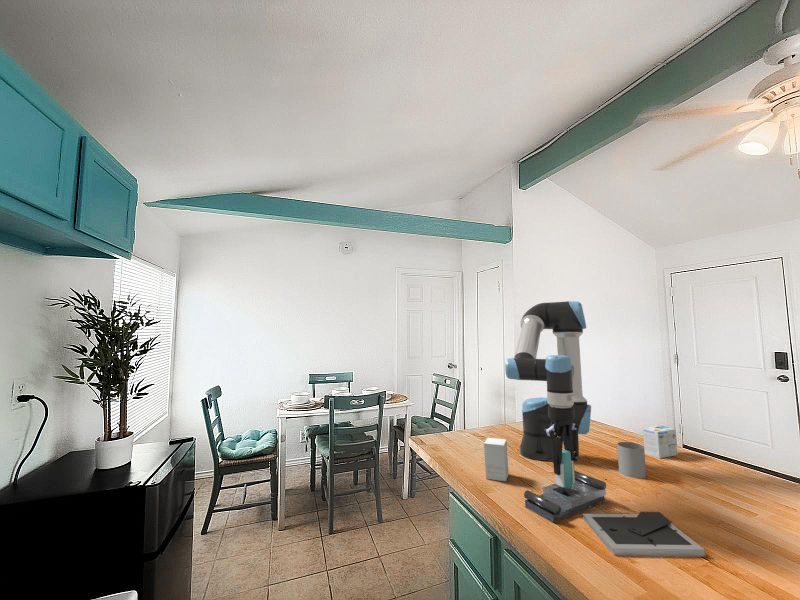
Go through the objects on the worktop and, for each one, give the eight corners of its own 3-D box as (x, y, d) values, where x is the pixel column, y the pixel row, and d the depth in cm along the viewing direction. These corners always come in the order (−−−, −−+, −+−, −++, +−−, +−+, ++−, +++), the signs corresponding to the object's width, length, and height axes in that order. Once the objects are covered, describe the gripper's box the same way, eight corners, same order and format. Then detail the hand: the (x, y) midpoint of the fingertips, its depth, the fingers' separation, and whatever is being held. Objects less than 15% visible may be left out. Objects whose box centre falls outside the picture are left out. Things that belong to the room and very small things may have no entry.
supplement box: (509, 474, 131) (507, 439, 132) (506, 482, 124) (504, 445, 125) (488, 471, 134) (487, 437, 135) (484, 478, 127) (483, 442, 128)
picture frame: (660, 522, 98) (583, 521, 99) (659, 511, 98) (582, 511, 100) (705, 558, 82) (613, 557, 84) (704, 546, 83) (612, 544, 84)
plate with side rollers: (523, 506, 107) (522, 484, 108) (575, 488, 118) (574, 468, 119) (554, 523, 97) (553, 499, 98) (607, 502, 109) (606, 480, 109)
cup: (650, 479, 124) (648, 449, 125) (624, 477, 126) (622, 448, 127) (639, 469, 133) (637, 442, 133) (615, 468, 134) (613, 441, 135)
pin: (555, 484, 109) (553, 450, 110) (563, 481, 111) (562, 448, 112) (566, 489, 105) (564, 454, 106) (575, 486, 107) (573, 452, 108)
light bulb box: (662, 450, 153) (660, 424, 154) (678, 455, 146) (676, 428, 147) (644, 453, 149) (642, 427, 150) (660, 458, 143) (658, 431, 144)
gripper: (552, 411, 103) (556, 494, 101) (589, 404, 111) (594, 482, 109) (531, 406, 110) (535, 485, 108) (568, 400, 117) (572, 473, 115)
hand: (565, 483), depth 108 cm, fingers closed on pin, 4 cm apart
